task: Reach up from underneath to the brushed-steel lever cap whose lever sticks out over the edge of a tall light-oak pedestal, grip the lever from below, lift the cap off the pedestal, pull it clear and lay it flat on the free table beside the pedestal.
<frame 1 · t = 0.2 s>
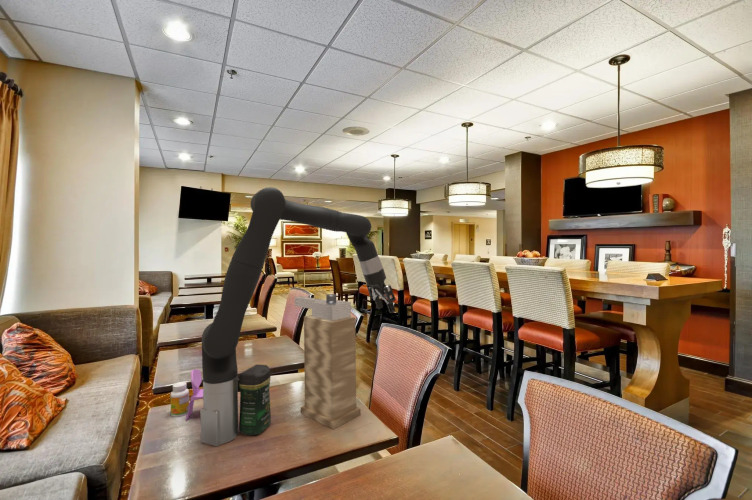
hand: (386, 310, 129), 31 cm above the table, tool tilted 20°, fingers open, 8 cm apart
toy chair: (203, 415, 115), on the table
supplement bottle: (180, 413, 116), on the table
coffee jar: (255, 428, 106), on the table
lever cap: (321, 315, 117), point 32 cm above the table, touching oak pedestal
oak pedestal: (330, 413, 115), on the table
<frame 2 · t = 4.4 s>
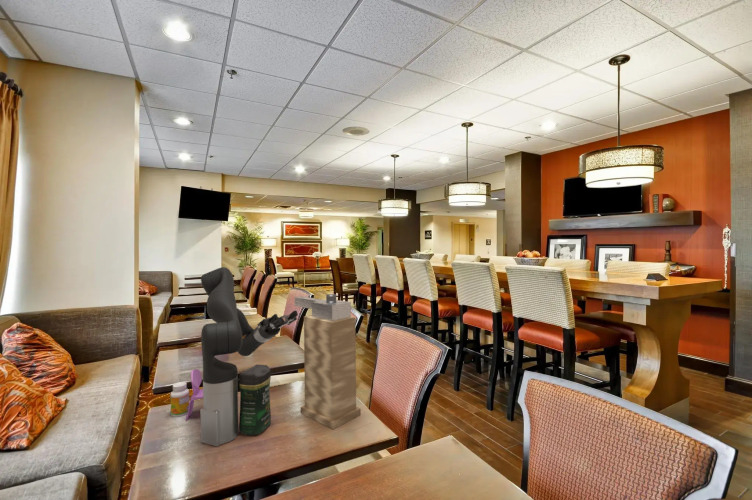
hand: (286, 314, 130), 30 cm above the table, tool pointing upward, fingers open, 8 cm apart
nothing on the table moved.
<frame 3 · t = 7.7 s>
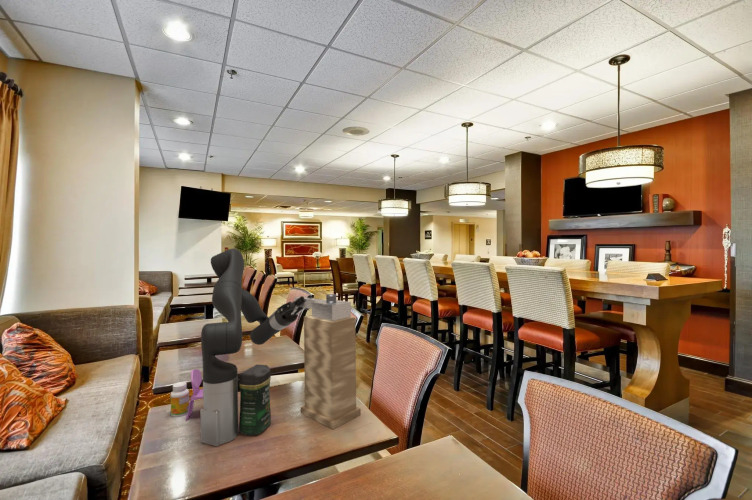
hand: (307, 298, 122), 37 cm above the table, tool pointing upward, fingers closed on lever cap, 3 cm apart
lever cap: (321, 315, 117), point 32 cm above the table, touching gripper, oak pedestal
everything else where it was.
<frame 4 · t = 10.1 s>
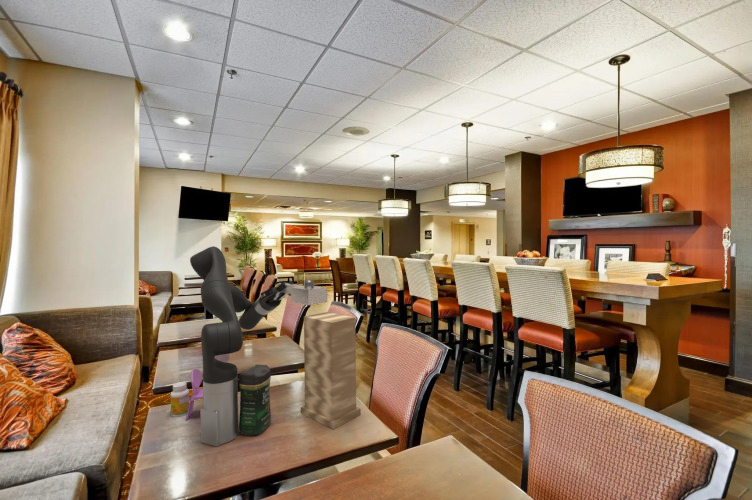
hand: (288, 284, 129), 41 cm above the table, tool pointing upward, fingers closed on lever cap, 3 cm apart
lever cap: (300, 300, 125), point 36 cm above the table, touching gripper
everything else where it was.
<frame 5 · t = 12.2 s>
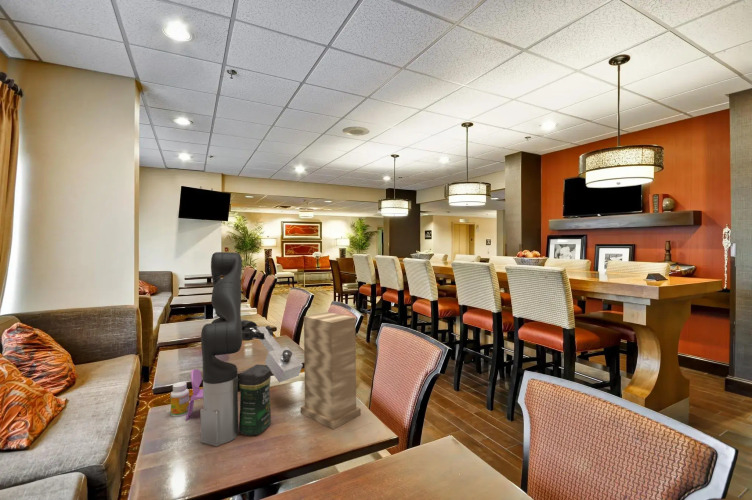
hand: (267, 335, 129), 22 cm above the table, tool horizontal, fingers closed on lever cap, 3 cm apart
lever cap: (274, 359, 126), point 14 cm above the table, tilted 29°, touching gripper
everything else where it was.
when the fingers open (7 cm above the table, at t = 15.7 s): lever cap drops 2 cm, on the table.
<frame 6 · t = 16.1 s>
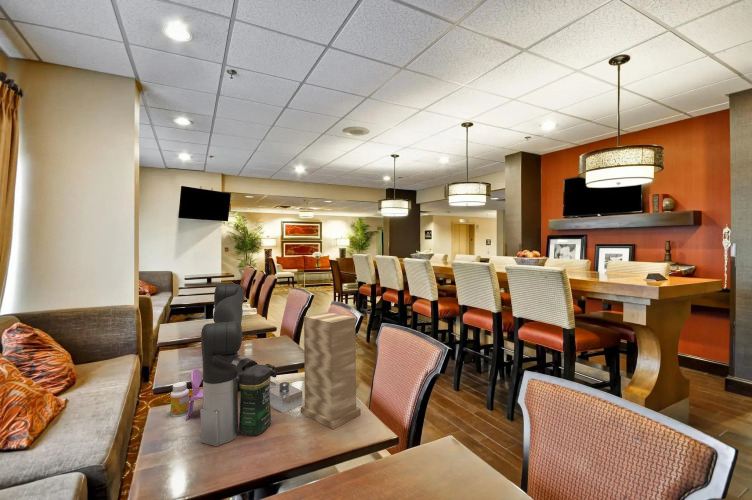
hand: (266, 377, 129), 7 cm above the table, tool horizontal, fingers open, 7 cm apart
lever cap: (276, 400, 125), on the table
everything else where it was.
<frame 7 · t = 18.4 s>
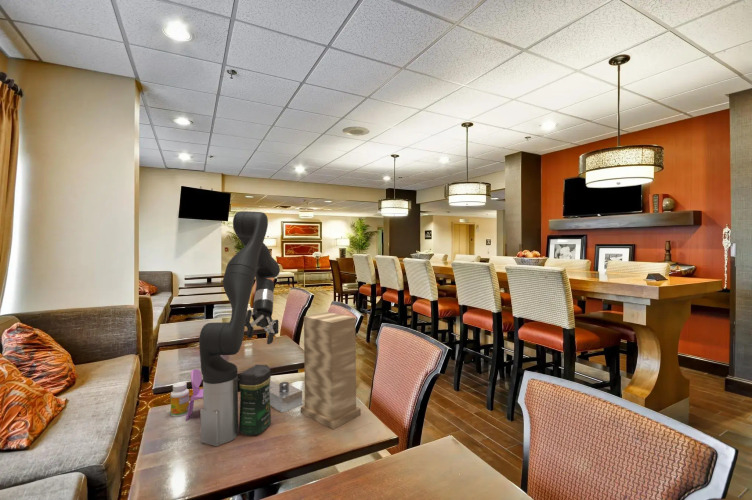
hand: (260, 340, 130), 20 cm above the table, tool tilted 40°, fingers open, 8 cm apart
nothing on the table moved.
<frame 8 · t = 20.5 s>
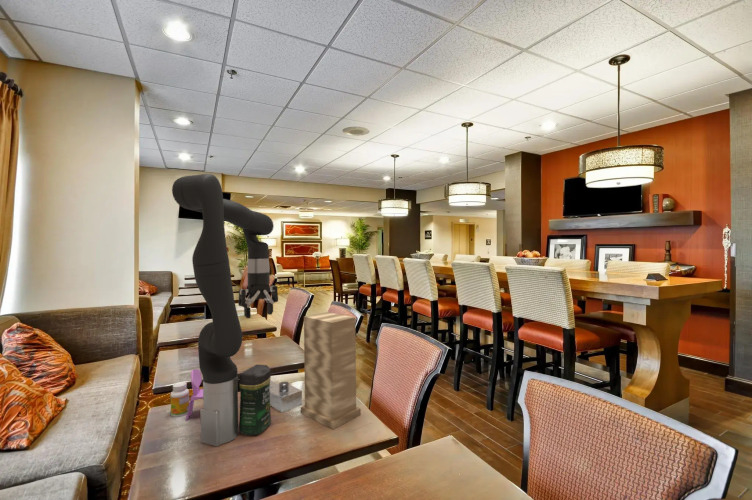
hand: (259, 316, 126), 30 cm above the table, tool pointing down, fingers open, 8 cm apart
nothing on the table moved.
at the end: lever cap inside the target area (1.4 cm from its centre), on the table; lever cap touching table; the gripper is holding nothing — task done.
